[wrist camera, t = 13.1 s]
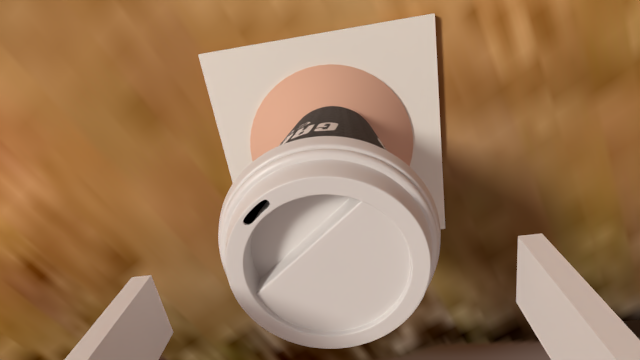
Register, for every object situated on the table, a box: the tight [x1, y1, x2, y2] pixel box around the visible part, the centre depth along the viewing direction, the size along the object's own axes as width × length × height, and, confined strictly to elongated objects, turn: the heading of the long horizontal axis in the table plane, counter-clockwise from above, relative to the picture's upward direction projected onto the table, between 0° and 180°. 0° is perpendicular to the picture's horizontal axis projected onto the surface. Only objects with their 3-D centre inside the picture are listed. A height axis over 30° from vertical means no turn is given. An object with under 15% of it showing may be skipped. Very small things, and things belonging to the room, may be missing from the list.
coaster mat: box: [198, 14, 445, 229], centre depth 29 cm, size 16×16×1 cm
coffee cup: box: [218, 106, 441, 349], centre depth 22 cm, size 10×10×15 cm
